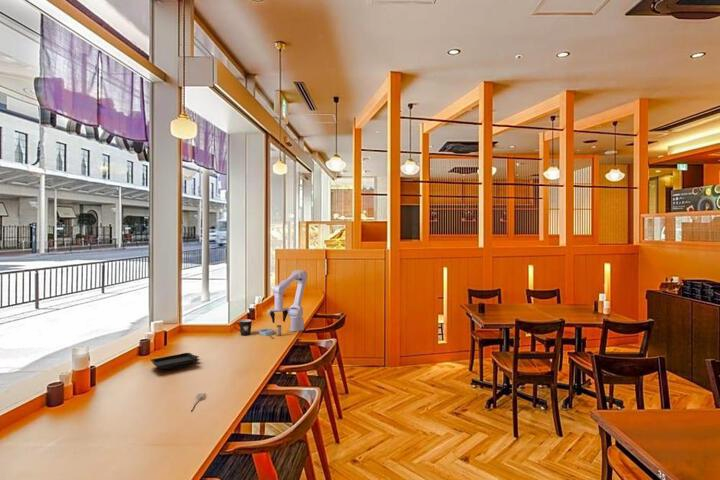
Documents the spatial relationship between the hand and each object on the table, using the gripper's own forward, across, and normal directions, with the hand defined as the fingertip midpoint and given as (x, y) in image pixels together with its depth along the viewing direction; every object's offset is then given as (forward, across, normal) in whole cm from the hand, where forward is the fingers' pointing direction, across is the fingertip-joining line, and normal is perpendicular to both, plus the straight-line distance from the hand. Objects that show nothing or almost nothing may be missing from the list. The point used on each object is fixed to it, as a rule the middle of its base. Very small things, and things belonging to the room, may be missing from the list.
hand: (278, 322), depth 292 cm
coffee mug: (+10, +20, -15) cm, 27 cm away
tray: (+10, +70, +34) cm, 78 cm away
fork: (+10, +70, +89) cm, 114 cm away
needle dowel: (+10, 0, 0) cm, 10 cm away
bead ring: (+10, +6, -9) cm, 14 cm away
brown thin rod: (+10, +6, +1) cm, 11 cm away
